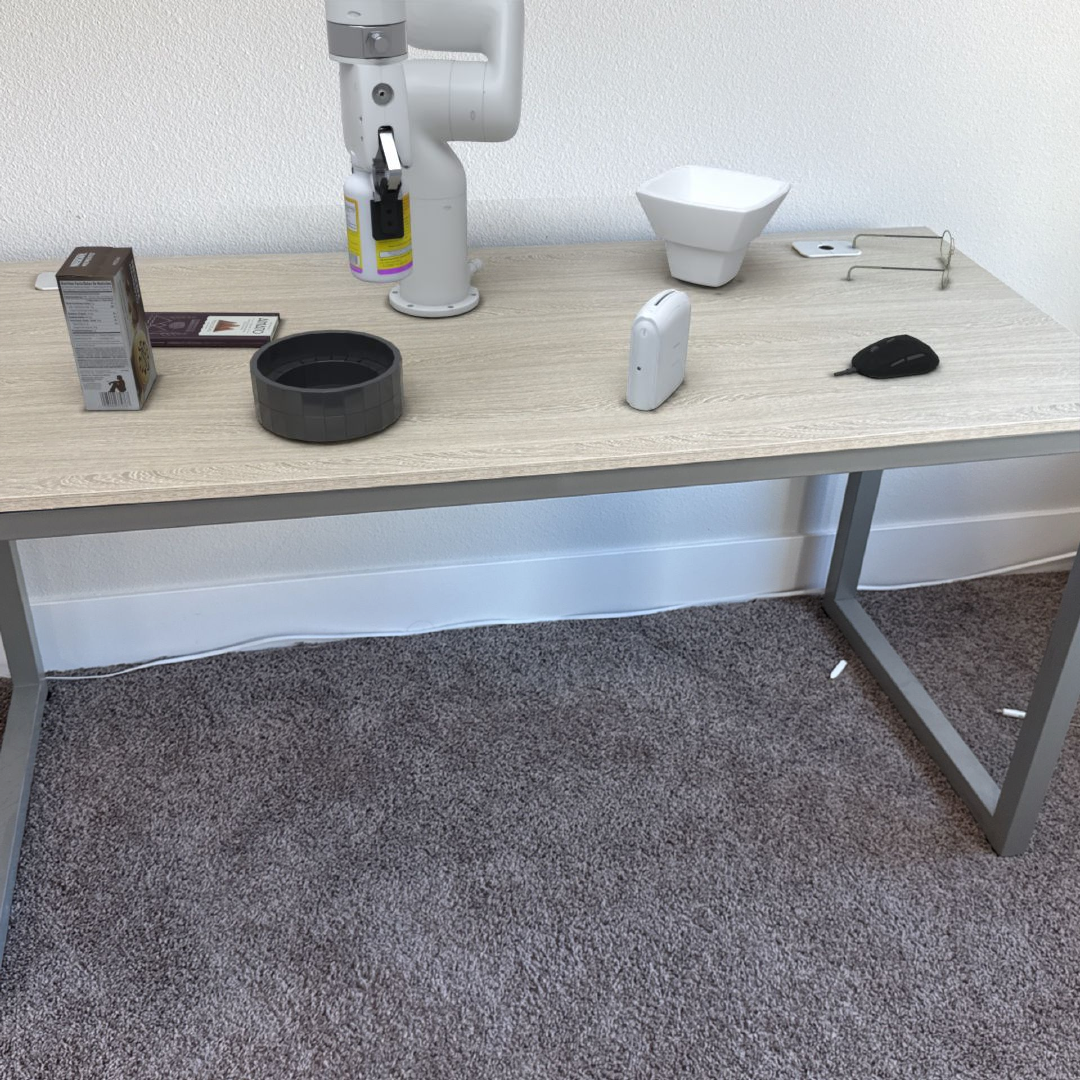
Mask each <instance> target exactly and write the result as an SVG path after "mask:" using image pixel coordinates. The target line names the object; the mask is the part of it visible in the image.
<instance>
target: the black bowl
mask: <svg viewBox="0 0 1080 1080" xmlns="http://www.w3.org/2000/svg"><path fill="white" fill-rule="evenodd" d="M249 372H250V381H251V387H252V396H253V402H254V403H253V404H254V408H255V409H254V411H255V417H256V419H257V421H259V423H260V425H261V426H263V427H264V428H266V429H267V430H269V431H270V432H272V433H273V434H276V435H279V436H282V437H285V438H288V439H293V440H294V439H295V440H299V441H304V442H305V441H306V442H324V443H325V442H334V441H337V442H338V441H346V440H351V439H357V438H360V437H365V436H368V435H371V434H374V433H376V432H379V431H381V430H383V429H386V428H387V427H388V426H389V425H391V424H393V423H394V422H395V421H396V420H397V419H398V418H399V417H400V416H401V414H402V413H403V410H404V406H405V391H404V390H405V389H404V373H403V356H402V353H401V351H400V348H398V347H397V346H396V345H395V344H394V343H393V342H391V341H390V340H387V339H386V338H384V337H382V336H379V335H377V334H376V335H375V334H372V333H368V332H364V331H357V330H351V329H319V330H318V329H317V330H307V331H302V332H297V333H292V334H289V335H285V336H282V337H279V338H276V339H273V340H272V341H271V342H270V343H267V344H265V345H264V346H262V347H259V349H257V350H255V352H254V353H253V354H252V356H251V358H250V360H249Z"/></svg>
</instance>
